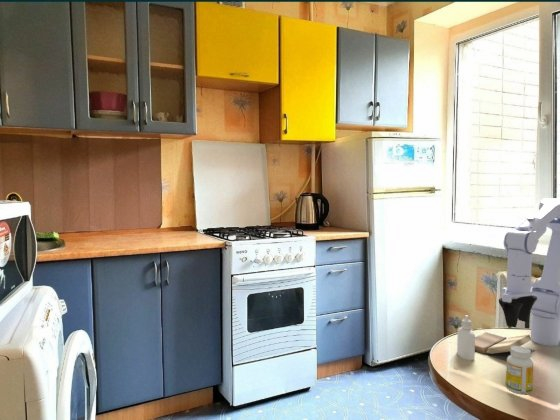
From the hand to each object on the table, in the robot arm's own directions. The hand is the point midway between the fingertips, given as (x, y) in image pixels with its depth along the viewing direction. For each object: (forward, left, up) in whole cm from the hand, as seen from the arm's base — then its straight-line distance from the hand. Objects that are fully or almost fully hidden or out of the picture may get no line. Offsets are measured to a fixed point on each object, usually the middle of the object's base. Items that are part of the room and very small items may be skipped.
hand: (517, 323), depth 115 cm
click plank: (0, -2, -7) cm, 7 cm away
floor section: (0, -5, -9) cm, 11 cm away
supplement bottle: (+19, +8, -10) cm, 23 cm away
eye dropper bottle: (+12, -8, -10) cm, 17 cm away
